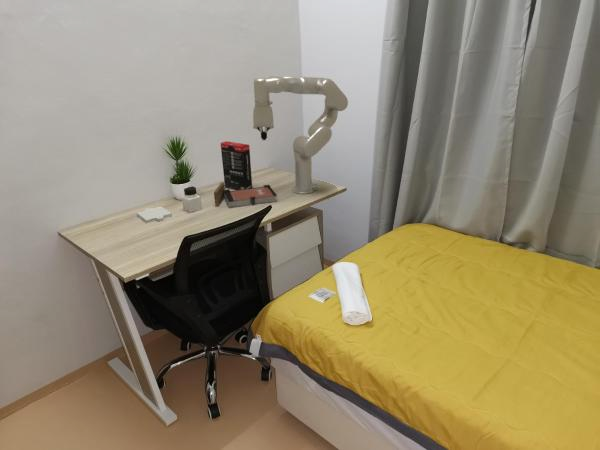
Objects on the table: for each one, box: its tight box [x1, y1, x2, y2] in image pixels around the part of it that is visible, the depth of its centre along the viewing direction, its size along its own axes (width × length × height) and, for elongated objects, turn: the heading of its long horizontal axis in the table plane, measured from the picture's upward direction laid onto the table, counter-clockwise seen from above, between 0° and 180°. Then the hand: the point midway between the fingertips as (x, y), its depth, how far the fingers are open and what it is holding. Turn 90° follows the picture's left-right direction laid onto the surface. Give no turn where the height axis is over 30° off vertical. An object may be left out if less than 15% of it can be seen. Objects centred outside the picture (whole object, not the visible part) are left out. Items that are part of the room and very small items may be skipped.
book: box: [223, 184, 278, 209], centre depth 219 cm, size 26×18×5 cm
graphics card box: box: [220, 141, 253, 190], centre depth 233 cm, size 17×7×27 cm, turn 58°
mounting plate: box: [136, 206, 173, 224], centre depth 202 cm, size 18×13×2 cm
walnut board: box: [213, 181, 226, 208], centre depth 218 cm, size 2×17×8 cm, turn 177°
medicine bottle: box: [181, 185, 203, 213], centre depth 207 cm, size 7×7×12 cm
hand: (264, 139), depth 211 cm, fingers closed
